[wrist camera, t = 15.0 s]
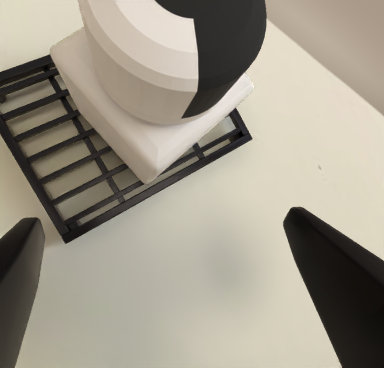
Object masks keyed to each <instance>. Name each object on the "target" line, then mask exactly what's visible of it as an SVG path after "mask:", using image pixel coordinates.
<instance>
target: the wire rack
mask: <svg viewBox="0 0 384 368" xmlns="http://www.w3.org/2000/svg"><path fill="white" fill-rule="evenodd" d="M55 66H56V65H55V63H54V61H53V60H52V58H51V56H50V55H47V56H44V57H41V58H39V59H36V60H33V61H30V62H27V63H24V64H22V65H19V66H16V67H13V68H10V69H7V70H5V71H2V72H0V87H1V86H3V85H6V84H9V83H11V82H14V81H17V80H20V79H22V78H25V77H28V76H30V75H33V74H36V73H39V72H41V71H44V73H41V74H38V75H36V76H33V77H30V78H28V79H25V80H22V81H19V82H17V83H14V84H11V85H9V86H6V87H3V88H1V89H0V103H4V102H5V101H6V95H7V94H10V93H13V92H15V91H18V90H21V89H23V88H26V87H29V86H31V85H34V84H37V83H39V82H42V81H44V80H47V79H49V81H50V83H51V84H52V86H53V88H54V89H55V91H56V93H55V94H53V95H50V96H48V97H45V98H43V99H40V100H38V101H35V102H33V103H30V104H27V105H25V106H22V107H20V108H17V109H15V110H12V111H10V112H7V113H5V114H2V113H1V111H0V134H1V136H2V138H3V139H4V141H5V143H6V144H7V146H8V148H9V149H10V151H11V153H12V154H13V156H14V158H15V160H16V161H17V163H18V165H19V166H20V168H21V170H22V171H23V173H24V175H25V176H26V178H27V180H28V181H29V183H30V185H31V187H32V188H33V190H34V192H35V193H36V195H37V197H38V198H39V200H40V202H41V203H42V205H43V207H44V208H45V210H46V212H47V214H48V215H49V217H50V219H51V220H52V222H53V224H54V225H55V227H56V229H57V230H58V232H59V234H60V235H61V237H62V239H63V241H64V242H65V244H67V243H69V242H70V241H72V240H74V239H76V238H78V237H79V236H81V235H83V234H85V233H86V232H88V231H90V230H92V229H94V228H95V227H97V226H99V225H101V224H102V223H104V222H106V221H108V220H110V219H111V218H113V217H115V216H117V215H118V214H120V213H122V212H124V211H126V210H127V209H129V208H131V207H133V206H134V205H136V204H138V203H140V202H142V201H143V200H145V199H147V198H149V197H151V196H152V195H154V194H156V193H158V192H159V191H161V190H163V189H165V188H167V187H168V186H170V185H172V184H174V183H175V182H177V181H179V180H181V179H183V178H184V177H186V176H188V175H190V174H191V173H193V172H195V171H197V170H199V169H200V168H202V167H204V166H206V165H207V164H209V163H211V162H213V161H215V160H216V159H218V158H220V157H222V156H223V155H225V154H227V153H229V152H231V151H232V150H234V149H236V148H238V147H240V146H241V145H243V144H245V143H247V142H248V141H250V140H252V137H251V135H250V133H249V131H248V129H247V127H246V126H245V124H244V122H243V120H242V118H241V116H240V114H239V113H238V111H237V109H236V108H234V109H233V110H232V111H231V112H230V113H229V114H228V115H227V116H226V117H228V116H230V118H231V120H232V122H233V123H234V125H235V127H236V129H235V130H233V131H231V132H230V133H228V134H226V135H224V136H222V137H220V138H218V139H216V140H215V141H213V142H211V143H209V144H207V145H205V146H203V147H202V148H200V147H199V145H198V143H195V144H194V145H193V146H192V147H193V148H194V150H195V151H194V152H192V153H190V154H189V155H187V156H185V157H183V158H181V159H179V160H177V161H175V162H174V163H172V164H171V165H170V166H169V167H168V168H166V169H165V170H164V171H163V172H162V173H161V174H159V175H158V176H160V175H162V174H164V173H166V172H167V171H169V170H171V169H173V168H175V167H177V166H178V165H180V164H182V163H184V162H186V161H188V160H190V159H191V158H193V157H195V156H198V157H199V159H200V160H199V161H197V162H195V163H193V164H192V165H190V166H188V167H186V168H184V169H182V170H181V171H179V172H177V173H175V174H173V175H172V176H170V177H168V178H166V179H164V180H162V181H161V182H159V183H157V184H155V185H153V186H152V187H150V188H148V189H146V190H144V191H142V192H141V193H139V194H137V195H135V196H133V197H132V198H130V199H128V200H126V201H125V199H124V198H123V195H125V194H127V193H129V192H131V191H132V190H134V189H136V188H138V187H140V186H142V185H143V184H144V183H142V182H141V180H140V181H138V182H136V183H134V184H133V185H131V186H129V187H127V188H125V189H123V190H121V191H119V189H118V187H117V186H116V184H115V182H114V180H113V179H112V177H111V176H113V175H115V174H117V173H119V172H121V171H123V170H125V169H127V168H129V167H128V166H127V165H126V164H125V163H124V164H122V165H120V166H118V167H116V168H115V169H113V170H111V171H109V172H108V170H107V168H106V166H105V165H104V163H103V161H102V159H101V158H100V157H101V156H103V155H105V154H107V153H109V152H111V151H113V149H112V148H111V147H110V146H108V147H106V148H104V149H101V150H99V151H96V149H95V147H94V145H93V144H92V142H91V140H90V139H89V137H90V136H92V135H94V134H96V133H98V132H97V131H96V130H95V129H94V128H92V129H90V130H88V131H86V132H85V130H84V128H83V126H82V125H81V123H80V121H79V119H78V118H77V117H79V116H81V115H82V114H81V113H80V112H79V110H76V111H73V109H72V107H71V105H70V104H69V102H68V100H67V99H66V97H67V96H70V93H69V91H68V89H65V90H63V91H62V90H61V88H60V86H59V85H58V83H57V81H56V79H55V78H54V77H55V76H58V75H60V73H59V71H58V69H57V68H55V69H52V70H50V68H52V67H55ZM57 100H61V102H62V103H63V105H64V107H65V109H66V110H67V112H68V114H66V115H64V116H61V117H59V118H57V119H54V120H52V121H50V122H47V123H45V124H43V125H40V126H38V127H35V128H33V129H31V130H28V131H26V132H24V133H21V134H19V135H17V136H15V135H14V133H13V131H12V130H11V128H10V126H9V125H8V123H7V121H8V120H10V119H13V118H15V117H18V116H20V115H23V114H25V113H28V112H30V111H33V110H35V109H38V108H40V107H42V106H45V105H47V104H50V103H52V102H55V101H57ZM226 117H225V118H226ZM69 120H72V121H73V122H74V124H75V126H76V128H77V129H78V131H79V133H80V134H79V135H77V136H74V137H72V138H70V139H68V140H66V141H63V142H61V143H59V144H57V145H54V146H52V147H50V148H48V149H46V150H43V151H41V152H39V153H37V154H35V155H32V156H30V157H27V155H26V153H25V152H24V150H23V148H22V147H21V145H20V143H19V142H21V141H23V140H25V139H28V138H30V137H32V136H35V135H37V134H39V133H42V132H44V131H46V130H49V129H51V128H53V127H56V126H58V125H60V124H63V123H65V122H67V121H69ZM228 138H229V140H230V142H231V143H230V144H228V145H226V146H224V147H222V148H221V149H219V150H217V151H215V152H213V153H211V154H210V155H208V156H206V157H205V156H204V154H203V152H204V151H206V150H208V149H210V148H212V147H213V146H215V145H217V144H219V143H221V142H223V141H225V140H226V139H228ZM81 140H84V142H85V143H86V145H87V147H88V148H89V150H90V152H91V155H89V156H87V157H85V158H83V159H81V160H79V161H76V162H74V163H72V164H70V165H68V166H66V167H64V168H62V169H60V170H58V171H56V172H53V173H51V174H49V175H47V176H45V177H43V178H41V179H40V177H39V175H38V174H37V172H36V170H35V169H34V167H33V165H32V164H31V163H33V162H35V161H38V160H40V159H42V158H44V157H46V156H49V155H51V154H53V153H55V152H57V151H59V150H62V149H64V148H66V147H68V146H70V145H73V144H75V143H77V142H79V141H81ZM93 160H95V161H96V162H97V164H98V166H99V168H100V169H101V171H102V173H103V175H101V176H99V177H97V178H95V179H93V180H91V181H89V182H87V183H85V184H83V185H81V186H79V187H77V188H75V189H73V190H71V191H69V192H67V193H65V194H63V195H61V196H59V197H57V198H55V199H52V198H51V196H50V194H49V192H48V191H47V189H46V187H45V186H44V184H45V183H47V182H49V181H51V180H53V179H56V178H58V177H60V176H62V175H64V174H66V173H68V172H70V171H72V170H74V169H76V168H78V167H80V166H82V165H84V164H86V163H88V162H90V161H93ZM158 176H157V177H158ZM105 179H106V180H107V181H108V183H109V185H110V187H111V188H112V190H113V192H114V195H112V196H110V197H108V198H106V199H105V200H103V201H101V202H99V203H97V204H95V205H93V206H92V207H90V208H88V209H86V210H84V211H82V212H80V213H79V214H77V215H75V216H73V217H71V218H69V219H67V220H64V218H63V216H62V214H61V213H60V211H59V209H58V208H57V206H56V205H57V204H59V203H61V202H63V201H65V200H67V199H68V198H70V197H72V196H74V195H76V194H78V193H80V192H82V191H84V190H86V189H88V188H90V187H92V186H94V185H96V184H98V183H100V182H102V181H103V180H105ZM116 199H118V201H119V202H120V204H119V205H117V206H115V207H113V208H112V209H110V210H108V211H106V212H104V213H103V214H101V215H99V216H97V217H95V218H93V219H92V220H90V221H88V222H86V223H84V224H83V225H81V223H80V222H79V221H77V220H79V219H81V218H83V217H85V216H86V215H88V214H90V213H92V212H94V211H96V210H97V209H99V208H101V207H103V206H105V205H107V204H109V203H110V202H112V201H114V200H116Z"/></svg>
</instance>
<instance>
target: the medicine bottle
mask: <svg viewBox="0 0 384 368" xmlns="http://www.w3.org/2000/svg"><path fill="white" fill-rule="evenodd" d="M78 3H79V7H80V11H81V15H82V19H83V24H84V27H83V28H81V29H80V30H78V31H76V32H75V33H73V34H71V35H70V36H68V37H67V38H65V39H63V40H62V41H60V42H58V43H57V44H55V45H53V46H52V47H51V49H50V56H51V58H52V60H53V61H54V63H55V65H56V67H57V69H58V71H59V73H60V75H61V77H62V79H63V81H64V83H65V85H66V87H67V89H68V91H69V93H70V95H71V97H72V99H73V101H74V103H75V105H76V107H77V108H78V110H79V112H80V113H81V114H82V116H83V117H84V118H85V119H86V120H87V121H88V122H89V123H90V125H91V126H92V127H93V128H94V129H95V130H96V131H97V132H98V133H99V135H100V136H101V137H102V138H103V139H104V140H105V141H106V142H107V144H108V145H109V146H110V147H111V148H112V149H113V150H114V151H115V152H116V154H117V155H118V156H119V157H120V158H121V159H122V160H123V161H124V163H125V164H126V165H127V166H128V167H129V168H130V169H131V170H132V171H133V173H134V174H135V175H136V176H137V177H138V178H139V179H140V180H141V182H142V183H144V184H148V183H150V182H151V181H153V180H154V179H155V178H156V177H157V176H158V175H159V174H161V173H162V172H163V171H164V170H165V169H166V168H168V167H169V166H170V165H171V164H172V163H173V162H175V161H176V160H177V159H178V158H179V157H180V156H181V155H183V154H184V153H185V152H186V151H187V150H188V149H190V148H191V147H192V146H193V145H194V144H195V143H197V142H198V141H199V140H200V139H201V138H202V137H203V136H205V135H206V134H207V133H208V132H209V131H210V130H212V129H213V128H214V127H215V126H216V125H217V124H218V123H219V122H220V121H221V120H222V119H224V118H225V117H226V116H227V115H228V114H229V113H230V112H231V111H232V110H233V109H234V108H236V107H237V106H238V105H239V104H240V103H241V102H242V101H243V100H244V99H245V98H246V97H247V96H249V95H250V94H251V93H252V91H253V89H254V84H253V82H252V81H251V80H250V78H249V77H248V76H247V75H246V73H245V71H246V70H247V69H248V68H249V67H250V65H251V64H252V63H253V61H254V60H255V59H256V57H257V55H258V53H259V51H260V49H261V46H262V43H263V40H264V37H265V31H266V18H267V17H266V5H265V0H78Z"/></svg>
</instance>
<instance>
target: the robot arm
mask: <svg viewBox="0 0 384 368" xmlns="http://www.w3.org/2000/svg"><path fill="white" fill-rule="evenodd" d="M283 227H284V230H285V233H286V236H287V239H288V242H289V245H290V248H291V251H292V254H293V257H294V260H295V262H296V265H297V267H298V269H299V272H300V274H301V276H302V278H303V281H304V283H305V285H306V287H307V290H308V292H309V294H310V296H311V298H312V301H313V303H314V305H315V307H316V310H317V312H318V314H319V316H320V319H321V321H322V323H323V325H324V328H325V330H326V332H327V334H328V337H329V339H330V341H331V343H332V346H333V348H334V350H335V352H336V355H337V357H338V359H339V361H340V364H341V366H342V368H384V261H383V260H382V259H380V258H379V257H377V256H376V255H374V254H373V253H371V252H370V251H368V250H367V249H365V248H363V247H362V246H360V245H359V244H357V243H356V242H354V241H353V240H351V239H350V238H348V237H347V236H345V235H344V234H342V233H341V232H339V231H338V230H336V229H335V228H333V227H332V226H330V225H329V224H327V223H325V222H324V221H322V220H321V219H319V218H318V217H316V216H315V215H313V214H312V213H310V212H309V211H307V210H306V209H304V208H302V207H292V208H291V209H290V210H289V212H288V214H287V216H286V217H285V219H284V221H283ZM44 244H45V233H44V230H43V227H42V224H41V221H40V219H39V218H36V217H34V218H23V219H22V220H20V221H19V222H18V223H17V224H16V225H15V226H14V227H13V228H12V229H10V230H9V231H8V232H7V233H6V234H5V235H4V236H3V237H2V238H1V239H0V368H15V365H16V362H17V358H18V355H19V351H20V348H21V344H22V341H23V337H24V334H25V330H26V327H27V323H28V320H29V316H30V313H31V309H32V306H33V302H34V299H35V295H36V292H37V288H38V282H39V276H40V270H41V264H42V257H43V251H44Z"/></svg>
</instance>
